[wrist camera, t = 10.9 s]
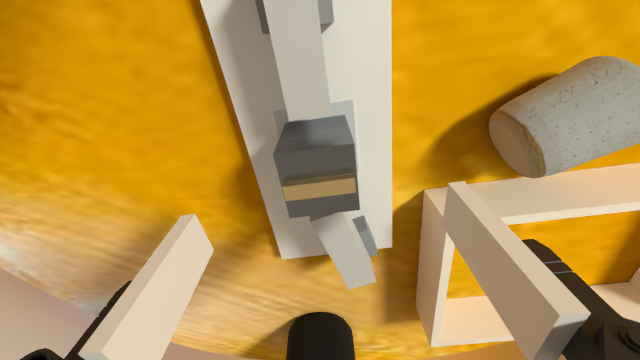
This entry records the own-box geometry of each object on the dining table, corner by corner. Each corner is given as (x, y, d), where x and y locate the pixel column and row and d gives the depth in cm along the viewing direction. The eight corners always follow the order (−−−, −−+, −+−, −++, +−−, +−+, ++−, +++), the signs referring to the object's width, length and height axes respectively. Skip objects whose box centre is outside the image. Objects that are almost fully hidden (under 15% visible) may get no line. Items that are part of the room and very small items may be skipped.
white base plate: (194, -41, 18) (133, -80, 12) (385, -79, 17) (421, -142, 11) (283, 250, 33) (275, 298, 27) (389, 238, 32) (405, 285, 26)
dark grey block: (296, 175, 25) (288, 225, 19) (285, 123, 23) (270, 159, 16) (349, 168, 25) (361, 216, 18) (344, 114, 22) (356, 147, 16)
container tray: (423, 189, 28) (447, 223, 23) (731, 151, 26) (834, 179, 21) (415, 306, 39) (430, 347, 34) (632, 285, 37) (684, 326, 32)
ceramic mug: (472, 105, 24) (533, 132, 17) (566, 50, 21) (678, 58, 15) (500, 182, 28) (557, 228, 22) (581, 144, 26) (671, 182, 19)
